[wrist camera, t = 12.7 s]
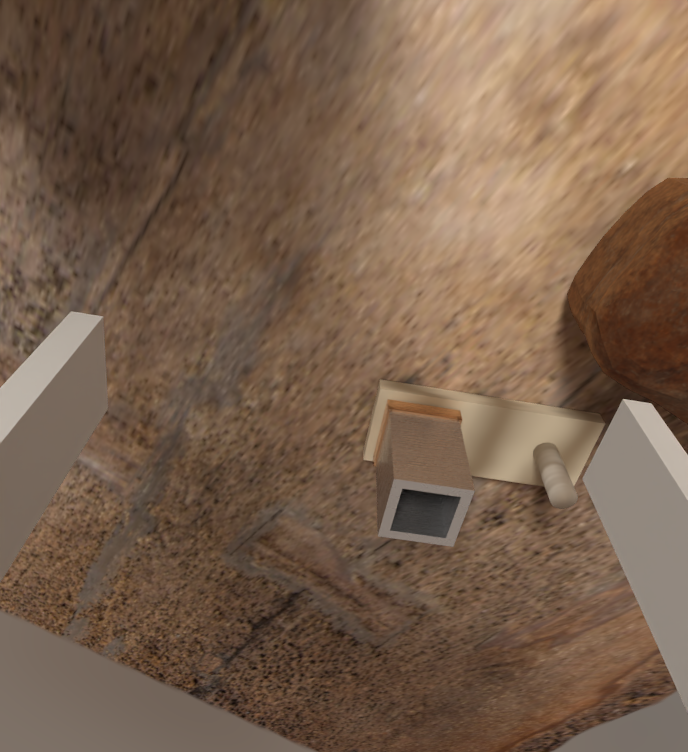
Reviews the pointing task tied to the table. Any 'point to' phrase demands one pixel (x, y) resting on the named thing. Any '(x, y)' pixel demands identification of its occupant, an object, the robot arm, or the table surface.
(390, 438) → the sleeve
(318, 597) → the table surface
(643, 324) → the bread
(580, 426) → the pin board
